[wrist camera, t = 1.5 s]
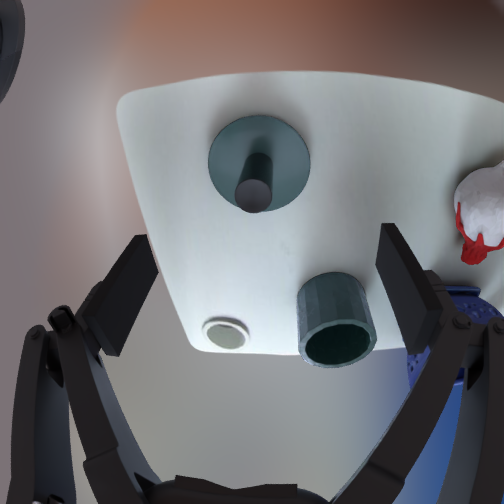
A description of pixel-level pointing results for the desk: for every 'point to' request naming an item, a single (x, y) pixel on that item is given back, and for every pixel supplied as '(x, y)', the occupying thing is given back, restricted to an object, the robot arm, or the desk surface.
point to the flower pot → (464, 302)
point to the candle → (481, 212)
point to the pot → (334, 321)
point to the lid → (259, 163)
